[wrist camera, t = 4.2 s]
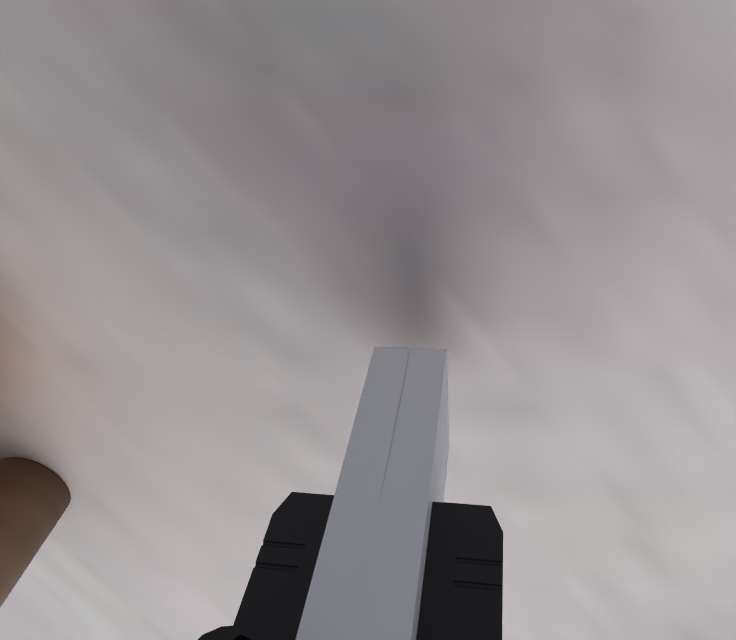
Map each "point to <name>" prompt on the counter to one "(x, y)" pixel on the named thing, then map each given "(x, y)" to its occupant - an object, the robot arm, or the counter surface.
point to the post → (26, 515)
